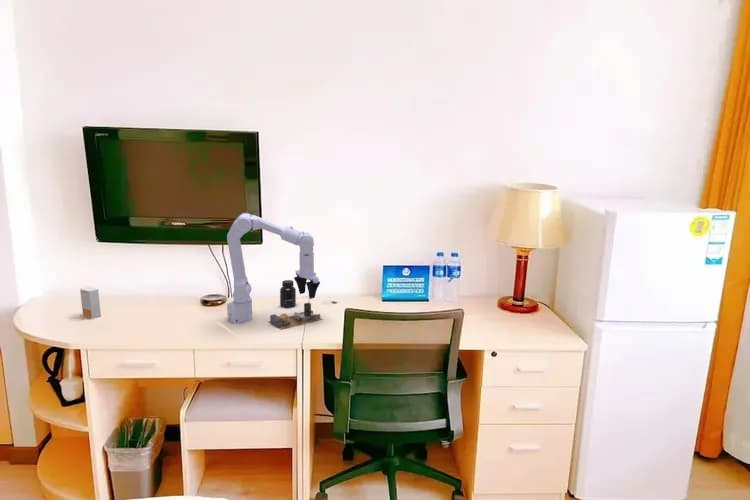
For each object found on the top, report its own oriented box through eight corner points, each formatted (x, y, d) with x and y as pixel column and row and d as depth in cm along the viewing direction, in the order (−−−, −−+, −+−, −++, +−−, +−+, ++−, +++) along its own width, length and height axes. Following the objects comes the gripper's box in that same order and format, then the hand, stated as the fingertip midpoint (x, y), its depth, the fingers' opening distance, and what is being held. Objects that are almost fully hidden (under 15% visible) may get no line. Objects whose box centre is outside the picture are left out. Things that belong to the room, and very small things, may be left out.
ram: (299, 321, 226) (299, 307, 225) (294, 318, 229) (293, 304, 228) (314, 317, 230) (314, 304, 229) (309, 314, 234) (309, 301, 232)
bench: (280, 332, 218) (280, 321, 217) (267, 323, 226) (267, 313, 225) (323, 321, 229) (323, 311, 228) (309, 314, 238) (308, 304, 237)
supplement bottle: (287, 311, 241) (287, 284, 238) (276, 307, 245) (276, 281, 242) (299, 307, 246) (298, 281, 243) (288, 304, 250) (287, 278, 247)
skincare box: (82, 316, 230) (79, 288, 228) (91, 313, 234) (89, 286, 231) (92, 319, 228) (89, 291, 225) (101, 316, 231) (98, 288, 228)
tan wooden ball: (281, 325, 221) (281, 316, 220) (276, 322, 224) (276, 313, 224) (290, 323, 224) (290, 314, 223) (285, 320, 227) (285, 311, 226)
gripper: (324, 266, 223) (325, 298, 226) (305, 258, 234) (306, 289, 237) (309, 268, 218) (310, 301, 222) (290, 261, 229) (291, 292, 233)
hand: (307, 295), depth 229 cm, fingers open, 7 cm apart
